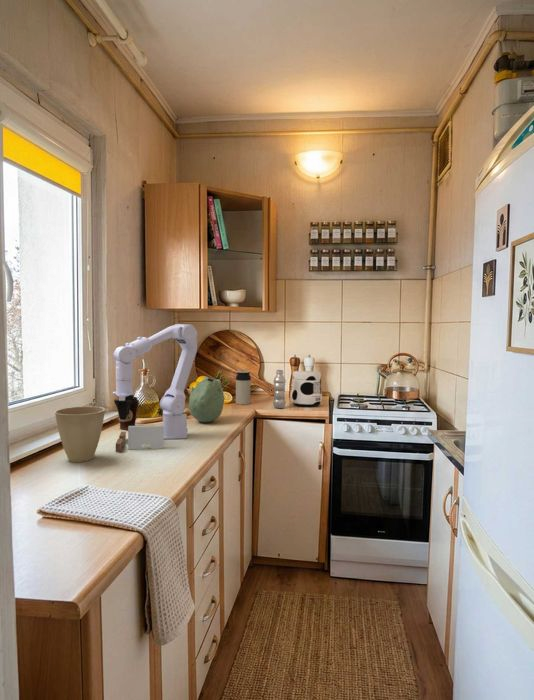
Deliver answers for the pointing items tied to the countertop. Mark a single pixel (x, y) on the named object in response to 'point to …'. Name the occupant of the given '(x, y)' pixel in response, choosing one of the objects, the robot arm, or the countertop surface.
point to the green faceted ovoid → (206, 400)
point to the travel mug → (243, 387)
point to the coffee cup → (130, 415)
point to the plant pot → (80, 431)
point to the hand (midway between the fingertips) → (124, 417)
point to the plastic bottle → (279, 390)
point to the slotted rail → (120, 441)
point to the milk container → (306, 388)
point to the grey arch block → (146, 436)
